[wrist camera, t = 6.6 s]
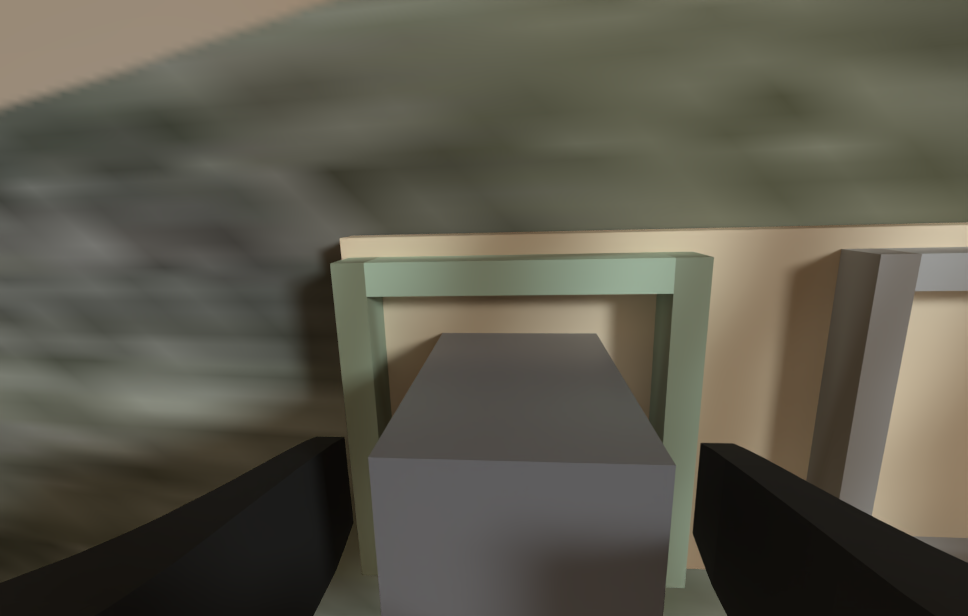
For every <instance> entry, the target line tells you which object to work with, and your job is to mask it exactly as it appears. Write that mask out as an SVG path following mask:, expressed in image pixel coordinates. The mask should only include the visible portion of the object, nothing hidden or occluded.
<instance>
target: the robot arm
mask: <svg viewBox="0 0 968 616" xmlns="http://www.w3.org/2000/svg"><path fill="white" fill-rule="evenodd" d="M352 525H353V515H352V506H351V496H350V487H349V477H348V468H347V458H346V448H345V439H344V437H315V438H312V439H310V440H307V441H305V442H303V443H301V444H299V445H297V446H295V447H293V448H291V449H289V450H287V451H285V452H283V453H282V454H280V455H278V456H276V457H274V458H272V459H271V460H269V461H267V462H265V463H263V464H261V465H260V466H258V467H256V468H254V469H252V470H250V471H249V472H247V473H245V474H243V475H241V476H239V477H238V478H236V479H234V480H232V481H230V482H228V483H227V484H225V485H223V486H221V487H219V488H217V489H215V490H213V491H211V492H209V493H207V494H205V495H203V496H201V497H199V498H197V499H195V500H193V501H191V502H189V503H187V504H186V505H184V506H182V507H180V508H178V509H176V510H174V511H172V512H170V513H168V514H166V515H164V516H162V517H160V518H158V519H156V520H153V521H151V522H149V523H147V524H145V525H143V526H141V527H138V528H136V529H134V530H132V531H130V532H127V533H125V534H123V535H121V536H118V537H116V538H114V539H111V540H109V541H107V542H104V543H102V544H100V545H97V546H95V547H93V548H90V549H88V550H86V551H83V552H81V553H78V554H76V555H73V556H71V557H69V558H66V559H63V560H61V561H58V562H55V563H53V564H50V565H47V566H45V567H42V568H39V569H37V570H34V571H31V572H29V573H26V574H23V575H21V576H18V577H15V578H13V579H10V580H7V581H5V582H2V583H0V616H313V615H314V613H315V611H316V609H317V607H318V605H319V603H320V601H321V599H322V597H323V595H324V593H325V591H326V589H327V587H328V585H329V583H330V581H331V579H332V577H333V575H334V573H335V571H336V569H337V566H338V563H339V561H340V558H341V556H342V553H343V550H344V548H345V545H346V542H347V539H348V536H349V533H350V530H351V528H352ZM692 533H693V536H694V539H695V542H696V544H697V547H698V550H699V553H700V555H701V558H702V561H703V564H704V566H705V569H706V571H707V574H708V576H709V579H710V581H711V584H712V586H713V588H714V590H715V592H716V594H717V596H718V598H719V600H720V602H721V604H722V606H723V608H724V610H725V612H726V614H727V616H968V563H967V562H965V561H963V560H961V559H959V558H957V557H954V556H952V555H950V554H948V553H946V552H944V551H942V550H939V549H937V548H935V547H933V546H931V545H929V544H927V543H925V542H923V541H921V540H919V539H917V538H915V537H913V536H911V535H909V534H907V533H905V532H903V531H901V530H899V529H897V528H895V527H893V526H891V525H889V524H887V523H885V522H883V521H881V520H879V519H877V518H875V517H873V516H871V515H869V514H867V513H865V512H863V511H861V510H859V509H857V508H856V507H854V506H852V505H850V504H848V503H846V502H844V501H842V500H840V499H839V498H837V497H835V496H833V495H831V494H829V493H828V492H826V491H824V490H822V489H820V488H818V487H816V486H815V485H813V484H811V483H809V482H807V481H805V480H804V479H802V478H800V477H798V476H796V475H795V474H793V473H791V472H789V471H787V470H785V469H784V468H782V467H780V466H778V465H776V464H774V463H773V462H771V461H769V460H767V459H765V458H763V457H761V456H759V455H757V454H755V453H753V452H751V451H749V450H747V449H745V448H743V447H741V446H738V445H736V444H734V443H701V444H700V455H699V466H698V477H697V488H696V499H695V510H694V521H693V532H692Z"/></svg>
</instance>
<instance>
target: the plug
mask: <svg viewBox="0 0 968 616" xmlns="http://www.w3.org/2000/svg"><path fill="white" fill-rule="evenodd" d="M368 462H369V474H370V485H371V497H372V509H373V521H374V533H375V545H376V557H377V568H378V580H379V592H380V604H381V616H663V610H664V599H665V587H666V576H667V564H668V553H669V541H670V530H671V518H672V507H673V495H674V484H675V472H676V465H675V463H674V461H673V460H672V458H671V456H670V455H669V453H668V451H667V450H666V448H665V446H664V445H663V443H662V441H661V440H660V438H659V436H658V435H657V433H656V431H655V430H654V428H653V426H652V425H651V423H650V421H649V420H648V418H647V417H646V415H645V413H644V412H643V410H642V408H641V407H640V405H639V403H638V402H637V400H636V398H635V397H634V395H633V393H632V392H631V390H630V388H629V387H628V385H627V383H626V382H625V380H624V378H623V377H622V375H621V373H620V372H619V370H618V368H617V367H616V365H615V363H614V362H613V360H612V358H611V357H610V355H609V354H608V352H607V350H606V349H605V347H604V345H603V344H602V342H601V340H600V339H599V337H598V335H597V334H596V333H442V335H441V336H440V338H439V340H438V341H437V343H436V345H435V346H434V348H433V350H432V351H431V353H430V355H429V356H428V358H427V360H426V362H425V363H424V365H423V367H422V368H421V370H420V372H419V373H418V375H417V377H416V378H415V380H414V382H413V383H412V385H411V387H410V388H409V390H408V392H407V393H406V395H405V397H404V398H403V400H402V402H401V403H400V405H399V407H398V408H397V410H396V412H395V413H394V415H393V417H392V418H391V420H390V422H389V423H388V425H387V427H386V428H385V430H384V432H383V433H382V435H381V437H380V438H379V440H378V442H377V443H376V445H375V447H374V448H373V450H372V452H371V454H370V455H369V457H368Z"/></svg>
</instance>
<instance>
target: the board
mask: <svg viewBox="0 0 968 616" xmlns="http://www.w3.org/2000/svg"><path fill="white" fill-rule="evenodd" d="M340 247H341V257H342V260H340V261H337V262H333V263H330V268H331V278H332V288H333V298H334V307H335V317H336V327H337V336H338V346H339V356H340V366H341V375H342V385H343V395H344V405H345V414H346V424H347V434H348V443H349V453H350V463H351V473H352V482H353V492H354V502H355V512H356V521H357V531H358V541H359V551H360V560H361V570H362V575H377V576H378V568H377V557H376V545H375V533H374V521H373V509H372V497H371V485H370V474H369V462H368V457H369V455H370V454H371V452H372V450H373V448H374V447H375V445H376V443H377V442H378V440H379V438H380V437H381V435H382V433H383V432H384V430H385V428H386V427H387V425H388V423H389V422H390V420H391V418H392V417H393V415H394V413H395V412H396V410H397V408H398V407H399V405H400V403H401V402H402V400H403V398H404V397H405V395H406V393H407V392H408V390H409V388H410V387H411V385H412V383H413V382H414V380H415V378H416V377H417V375H418V373H419V372H420V370H421V368H422V367H423V365H424V363H425V362H426V360H427V358H428V356H429V355H430V353H431V351H432V350H433V348H434V346H435V345H436V343H437V341H438V340H439V338H440V336H441V335H442V333H596V334H597V335H598V337H599V339H600V340H601V342H602V344H603V345H604V347H605V349H606V350H607V352H608V354H609V355H610V357H611V358H612V360H613V362H614V363H615V365H616V367H617V368H618V370H619V372H620V373H621V375H622V377H623V378H624V380H625V382H626V383H627V385H628V387H629V388H630V390H631V392H632V393H633V395H634V397H635V398H636V400H637V402H638V403H639V405H640V407H641V408H642V410H643V412H644V413H645V415H646V417H647V418H648V420H649V421H650V423H651V425H652V426H653V428H654V430H655V431H656V433H657V435H658V436H659V438H660V440H661V441H662V443H663V445H664V446H665V448H666V450H667V451H668V453H669V455H670V456H671V458H672V460H673V461H674V463H675V465H676V472H675V484H674V495H673V507H672V518H671V530H670V541H669V553H668V564H667V576H666V587H671V588H685V578H686V569H705V566H704V564H703V561H702V558H701V555H700V553H699V550H698V547H697V544H696V542H695V539H694V536H693V533H692V532H693V521H694V510H695V499H696V488H697V477H698V466H699V455H700V444H701V443H734V444H736V445H738V446H741V447H743V448H745V449H747V450H749V451H751V452H753V453H755V454H757V455H759V456H761V457H763V458H765V459H767V460H769V461H771V462H773V463H774V464H776V465H778V466H780V467H782V468H784V469H785V470H787V471H789V472H791V473H793V474H795V475H796V476H798V477H800V478H802V479H804V480H805V481H807V482H809V483H811V484H813V485H815V486H816V487H818V488H820V489H822V490H824V491H826V492H828V493H829V494H831V495H833V496H835V497H837V498H839V499H840V500H842V501H844V502H846V503H848V504H850V505H852V506H854V507H856V508H857V509H859V510H861V511H863V512H865V513H867V514H869V515H871V516H873V517H875V518H877V519H879V520H881V521H883V522H885V523H887V524H889V525H891V526H893V527H895V528H897V529H899V530H901V531H903V532H905V533H907V534H909V535H911V536H913V537H915V538H917V539H919V540H921V541H923V542H925V543H927V544H929V545H931V546H933V547H935V548H937V549H939V550H942V551H944V552H946V553H948V554H950V555H952V556H954V557H957V558H959V559H961V560H963V561H965V562H967V563H968V222H965V223H918V224H872V225H825V226H779V227H733V228H686V229H640V230H593V231H547V232H501V233H454V234H408V235H361V236H349V237H344V238H340Z"/></svg>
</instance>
